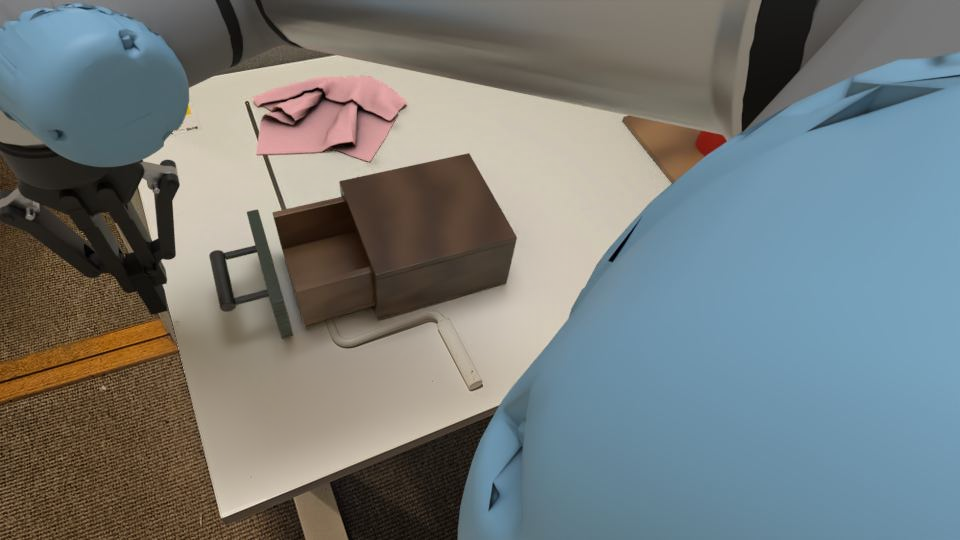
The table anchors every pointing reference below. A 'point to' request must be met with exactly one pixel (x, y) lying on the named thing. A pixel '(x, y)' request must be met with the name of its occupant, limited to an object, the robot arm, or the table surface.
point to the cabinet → (429, 233)
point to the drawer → (306, 264)
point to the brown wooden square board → (667, 144)
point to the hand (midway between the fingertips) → (157, 302)
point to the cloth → (328, 116)
